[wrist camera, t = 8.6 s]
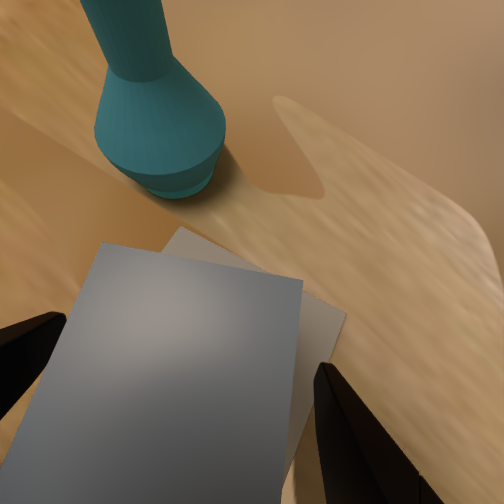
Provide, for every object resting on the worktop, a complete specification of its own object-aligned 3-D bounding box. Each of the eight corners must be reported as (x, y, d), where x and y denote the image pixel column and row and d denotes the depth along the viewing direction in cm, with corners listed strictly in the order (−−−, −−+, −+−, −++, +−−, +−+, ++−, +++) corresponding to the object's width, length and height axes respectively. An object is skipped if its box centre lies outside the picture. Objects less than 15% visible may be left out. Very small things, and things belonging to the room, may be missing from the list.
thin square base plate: (254, 547, 13) (265, 649, 9) (51, 409, 15) (-27, 436, 10) (341, 314, 18) (376, 303, 14) (182, 230, 20) (167, 196, 15)
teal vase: (246, 184, 22) (266, -104, 8) (148, 230, 20) (-63, -60, 6) (198, 117, 24) (150, -189, 10) (107, 151, 22) (-109, -181, 8)
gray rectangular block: (248, 425, 15) (274, 564, 5) (143, 405, 15) (-18, 507, 5) (265, 317, 17) (303, 280, 8) (175, 299, 17) (102, 241, 8)
